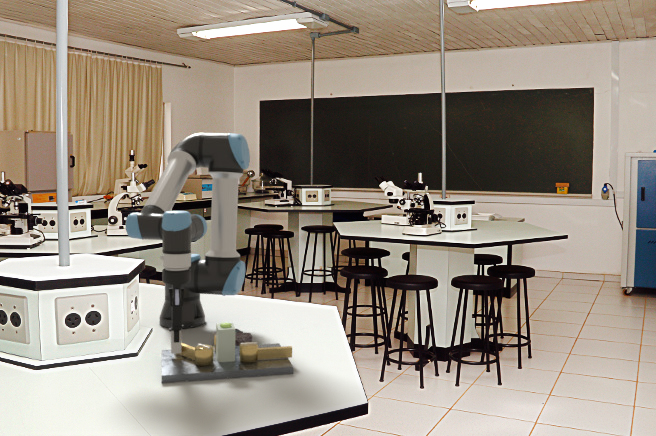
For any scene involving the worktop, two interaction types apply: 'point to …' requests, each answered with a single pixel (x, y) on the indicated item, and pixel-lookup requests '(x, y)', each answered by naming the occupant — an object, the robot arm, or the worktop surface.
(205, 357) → the knob
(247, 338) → the rock
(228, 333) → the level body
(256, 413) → the worktop surface
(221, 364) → the grey knob board
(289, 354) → the knob
